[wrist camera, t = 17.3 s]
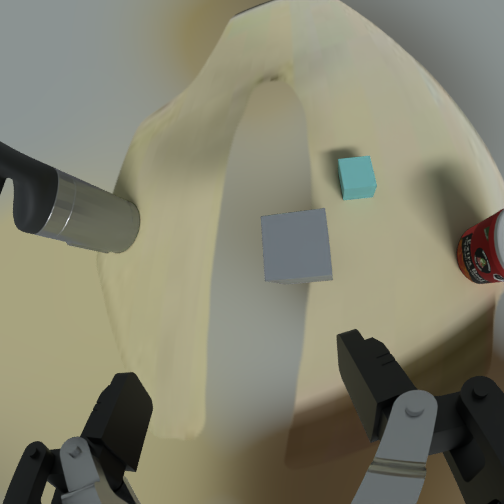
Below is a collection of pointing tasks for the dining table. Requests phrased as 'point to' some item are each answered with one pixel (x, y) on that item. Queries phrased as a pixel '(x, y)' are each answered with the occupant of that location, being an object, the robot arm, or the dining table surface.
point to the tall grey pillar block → (296, 247)
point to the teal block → (356, 177)
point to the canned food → (483, 250)
